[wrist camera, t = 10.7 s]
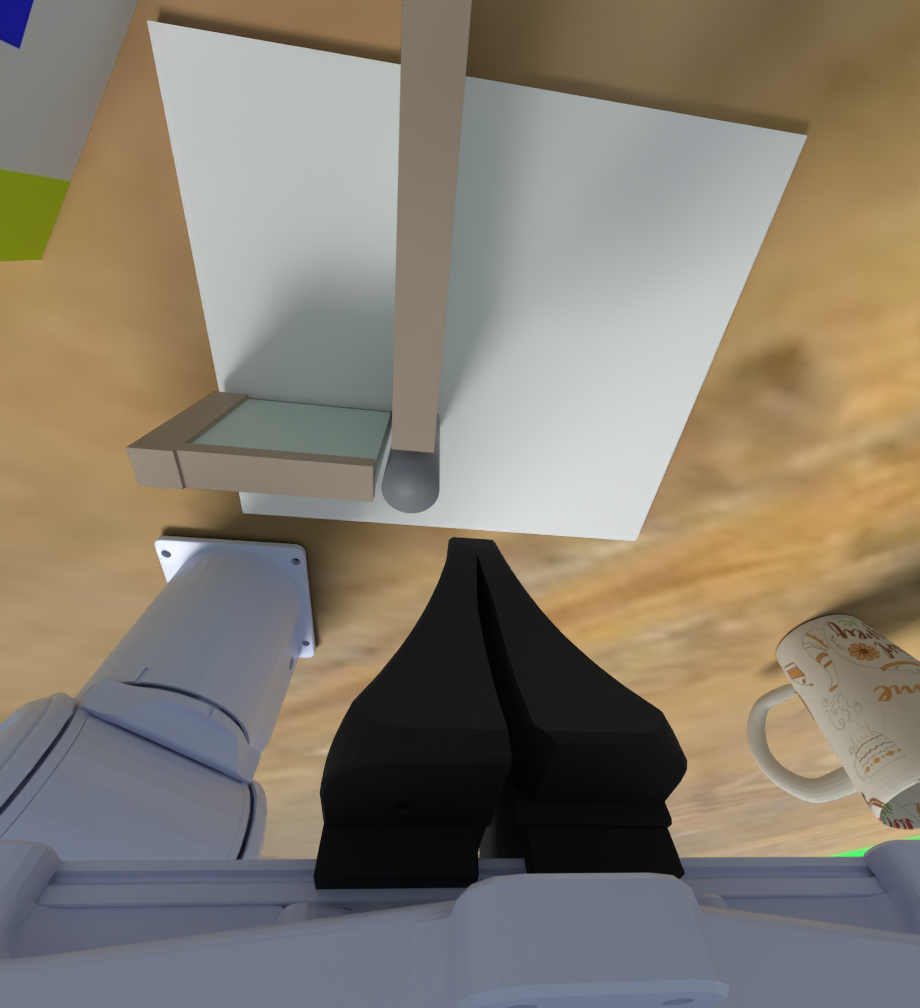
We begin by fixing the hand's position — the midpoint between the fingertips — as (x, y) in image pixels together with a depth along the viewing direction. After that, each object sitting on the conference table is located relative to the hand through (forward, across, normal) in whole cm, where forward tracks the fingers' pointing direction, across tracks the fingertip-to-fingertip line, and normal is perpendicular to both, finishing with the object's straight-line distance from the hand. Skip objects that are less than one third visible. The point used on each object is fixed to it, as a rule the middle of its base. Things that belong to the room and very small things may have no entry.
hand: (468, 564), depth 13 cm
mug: (+10, -27, +15) cm, 32 cm away
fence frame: (+9, +6, -1) cm, 11 cm away
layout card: (+9, 0, -4) cm, 10 cm away
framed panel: (+9, +2, -9) cm, 12 cm away
